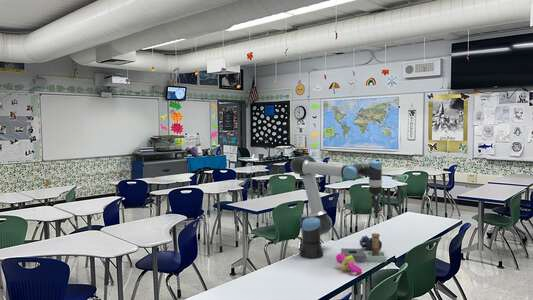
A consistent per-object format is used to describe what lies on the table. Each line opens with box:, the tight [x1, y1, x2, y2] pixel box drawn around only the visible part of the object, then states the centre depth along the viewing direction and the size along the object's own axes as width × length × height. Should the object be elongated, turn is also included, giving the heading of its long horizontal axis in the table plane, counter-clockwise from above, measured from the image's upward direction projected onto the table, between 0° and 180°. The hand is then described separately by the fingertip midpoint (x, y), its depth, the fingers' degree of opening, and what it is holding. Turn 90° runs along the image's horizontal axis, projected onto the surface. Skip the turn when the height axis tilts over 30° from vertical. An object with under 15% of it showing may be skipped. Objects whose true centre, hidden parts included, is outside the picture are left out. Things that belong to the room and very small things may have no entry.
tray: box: [364, 250, 388, 263], centre depth 259 cm, size 12×10×3 cm
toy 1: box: [335, 252, 363, 274], centre depth 240 cm, size 10×18×10 cm, turn 39°
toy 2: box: [359, 235, 383, 251], centre depth 276 cm, size 9×9×15 cm
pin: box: [371, 232, 380, 256], centre depth 258 cm, size 5×5×15 cm
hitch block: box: [340, 247, 366, 263], centre depth 261 cm, size 14×14×4 cm
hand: (375, 220), depth 257 cm, fingers open, 13 cm apart
